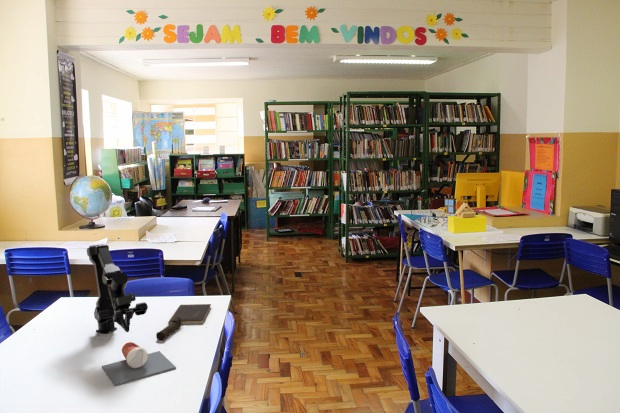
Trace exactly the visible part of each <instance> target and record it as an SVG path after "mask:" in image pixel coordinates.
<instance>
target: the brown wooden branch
mask: <svg viewBox="0 0 620 413" xmlns="http://www.w3.org/2000/svg"><path fill="white" fill-rule="evenodd" d="M181 325H182V324H181V318H180V317H177V318H175V319H173V320H172V323H171V324H168V325H167V326H166V327H164V328H163V329H162V330H160V331H157V332H156V336H155V337H156V339H157V341H164V340H166V338H167V337H169V335H171V334H172V333H173V332H175V330H178V329H180V327H181Z"/></svg>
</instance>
